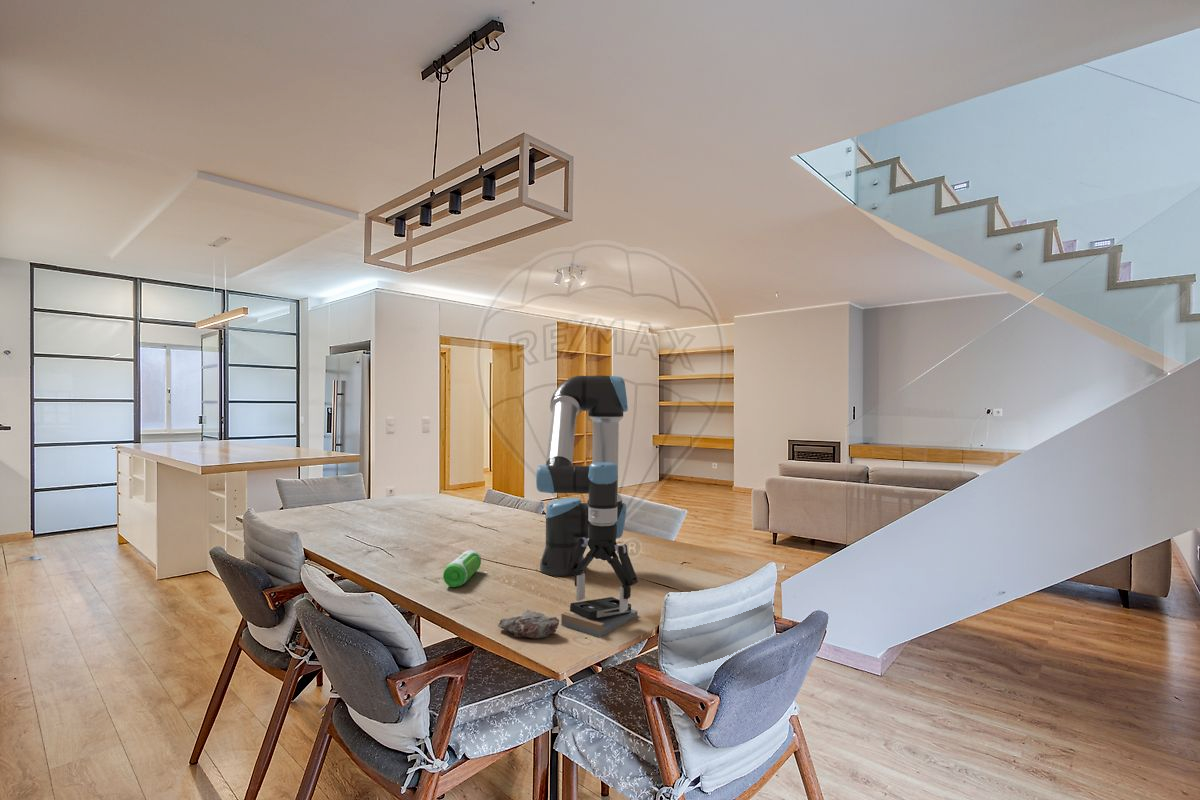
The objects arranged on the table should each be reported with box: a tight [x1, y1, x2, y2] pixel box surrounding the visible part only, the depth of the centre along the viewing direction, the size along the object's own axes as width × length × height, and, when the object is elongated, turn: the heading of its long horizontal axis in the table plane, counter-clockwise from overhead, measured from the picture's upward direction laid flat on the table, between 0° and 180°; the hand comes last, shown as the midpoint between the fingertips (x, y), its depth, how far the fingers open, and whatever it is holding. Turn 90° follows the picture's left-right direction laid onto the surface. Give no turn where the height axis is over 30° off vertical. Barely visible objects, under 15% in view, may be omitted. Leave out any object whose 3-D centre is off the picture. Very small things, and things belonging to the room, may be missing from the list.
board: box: [560, 608, 638, 638], centre depth 146 cm, size 12×19×3 cm, turn 145°
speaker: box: [442, 549, 482, 588], centre depth 177 cm, size 18×7×8 cm, turn 175°
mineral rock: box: [497, 609, 560, 640], centre depth 136 cm, size 15×8×4 cm, turn 59°
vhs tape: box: [569, 596, 632, 620], centre depth 146 cm, size 14×8×2 cm, turn 130°
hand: (601, 605), depth 146 cm, fingers open, 13 cm apart
